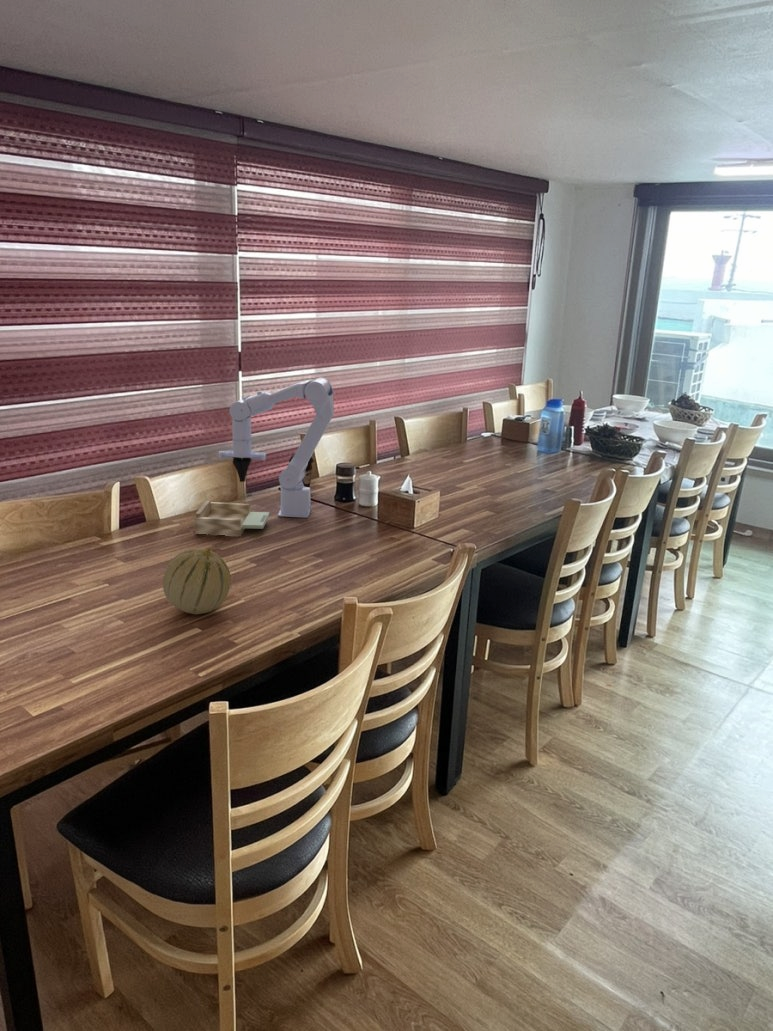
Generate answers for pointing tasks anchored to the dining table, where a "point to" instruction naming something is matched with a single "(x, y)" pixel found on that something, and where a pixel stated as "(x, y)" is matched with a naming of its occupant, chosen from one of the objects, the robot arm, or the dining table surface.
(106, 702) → the dining table surface
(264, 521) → the pale green flat slab
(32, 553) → the dining table surface
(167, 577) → the cantaloupe
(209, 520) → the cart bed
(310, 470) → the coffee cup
